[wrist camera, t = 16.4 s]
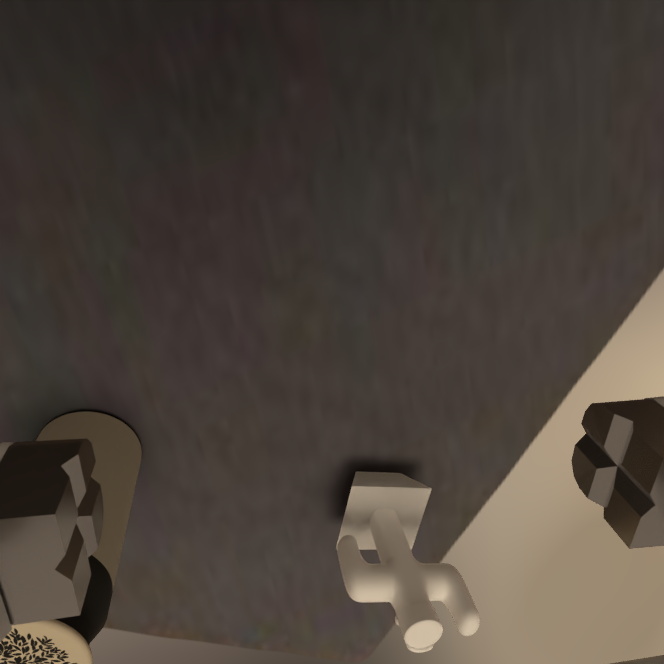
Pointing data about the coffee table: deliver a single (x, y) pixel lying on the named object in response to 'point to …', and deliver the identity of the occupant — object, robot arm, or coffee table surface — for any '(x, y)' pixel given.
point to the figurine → (399, 559)
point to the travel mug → (117, 490)
